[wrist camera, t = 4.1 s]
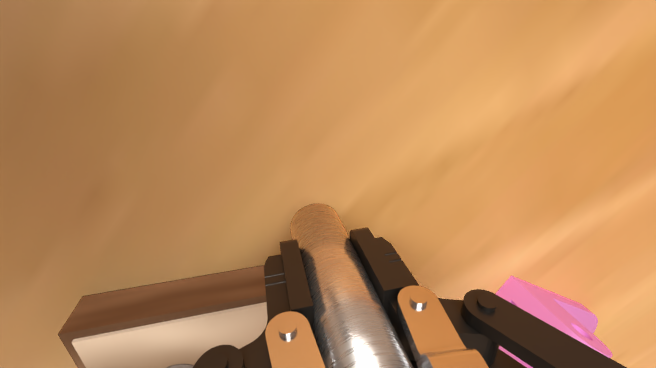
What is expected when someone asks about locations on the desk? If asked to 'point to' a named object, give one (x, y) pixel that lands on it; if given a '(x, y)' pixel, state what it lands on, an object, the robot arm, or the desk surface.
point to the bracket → (553, 313)
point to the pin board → (167, 321)
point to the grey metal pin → (343, 296)
